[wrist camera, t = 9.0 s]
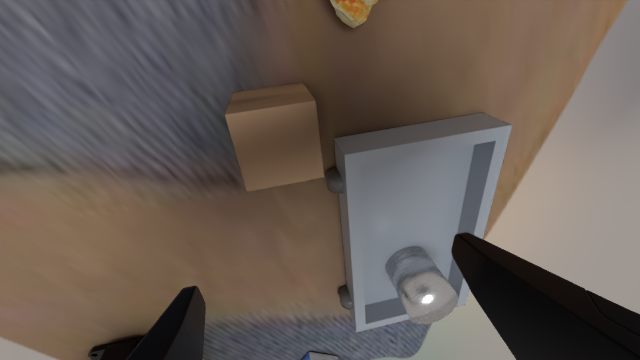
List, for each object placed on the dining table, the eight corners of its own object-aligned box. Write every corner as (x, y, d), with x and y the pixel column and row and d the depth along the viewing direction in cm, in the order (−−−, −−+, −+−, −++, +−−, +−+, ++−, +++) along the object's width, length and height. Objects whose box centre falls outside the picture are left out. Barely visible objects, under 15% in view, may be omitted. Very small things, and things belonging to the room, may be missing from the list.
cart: (456, 280, 32) (473, 302, 30) (339, 308, 31) (346, 334, 28) (494, 110, 22) (525, 122, 19) (320, 140, 20) (329, 157, 18)
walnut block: (310, 145, 20) (324, 177, 16) (249, 155, 20) (246, 191, 16) (302, 82, 18) (315, 100, 14) (233, 92, 18) (224, 114, 13)
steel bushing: (425, 273, 29) (454, 317, 24) (385, 282, 28) (407, 329, 24) (429, 241, 26) (462, 284, 22) (385, 251, 26) (410, 296, 22)
